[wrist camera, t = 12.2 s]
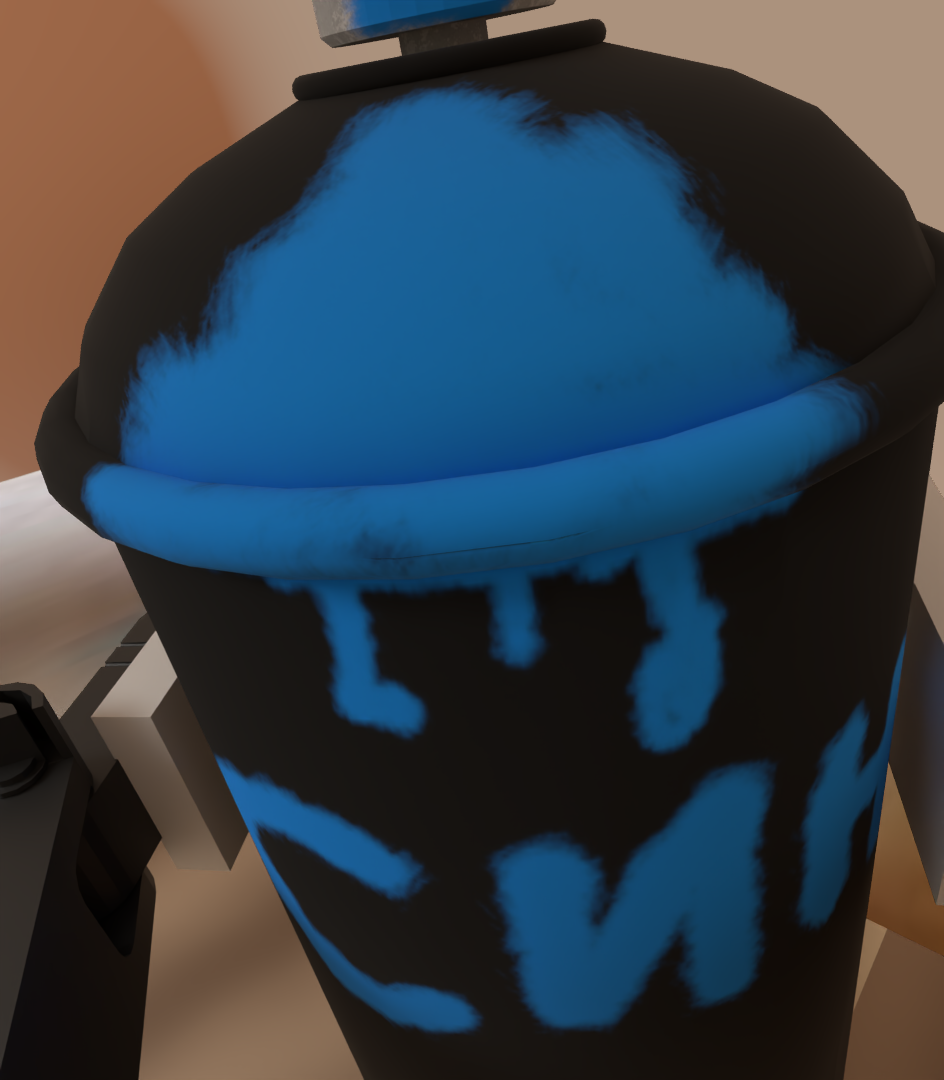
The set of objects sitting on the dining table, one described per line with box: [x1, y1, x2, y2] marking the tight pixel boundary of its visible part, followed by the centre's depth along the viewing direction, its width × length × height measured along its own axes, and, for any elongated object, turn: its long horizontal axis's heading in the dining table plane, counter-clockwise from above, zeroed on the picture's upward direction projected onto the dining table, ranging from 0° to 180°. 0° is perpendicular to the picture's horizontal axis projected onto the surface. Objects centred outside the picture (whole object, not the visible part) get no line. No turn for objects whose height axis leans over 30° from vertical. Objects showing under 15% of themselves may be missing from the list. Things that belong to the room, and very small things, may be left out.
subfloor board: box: [139, 832, 944, 1080], centre depth 19 cm, size 26×14×1 cm, turn 51°
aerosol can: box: [34, 0, 944, 1080], centre depth 11 cm, size 8×8×20 cm
